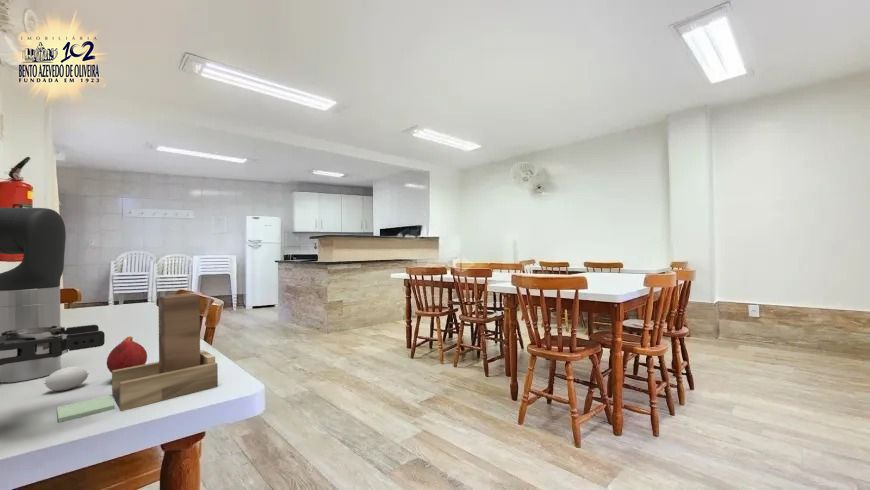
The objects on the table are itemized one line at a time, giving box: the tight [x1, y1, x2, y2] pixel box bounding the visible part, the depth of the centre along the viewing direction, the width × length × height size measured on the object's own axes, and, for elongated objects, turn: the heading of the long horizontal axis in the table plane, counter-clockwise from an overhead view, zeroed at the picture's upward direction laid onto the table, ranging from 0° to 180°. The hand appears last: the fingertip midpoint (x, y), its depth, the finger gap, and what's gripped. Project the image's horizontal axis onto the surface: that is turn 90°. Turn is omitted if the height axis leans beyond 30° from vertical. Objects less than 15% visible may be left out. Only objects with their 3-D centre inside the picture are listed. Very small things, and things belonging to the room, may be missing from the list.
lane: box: [111, 349, 219, 412], centre depth 63 cm, size 10×13×5 cm
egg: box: [43, 366, 90, 392], centre depth 65 cm, size 4×6×4 cm, turn 151°
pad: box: [56, 395, 116, 423], centre depth 56 cm, size 6×6×1 cm
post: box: [157, 293, 201, 374], centre depth 65 cm, size 5×5×14 cm
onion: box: [106, 335, 148, 374], centre depth 70 cm, size 6×6×8 cm
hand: (101, 334), depth 57 cm, fingers open, 8 cm apart
